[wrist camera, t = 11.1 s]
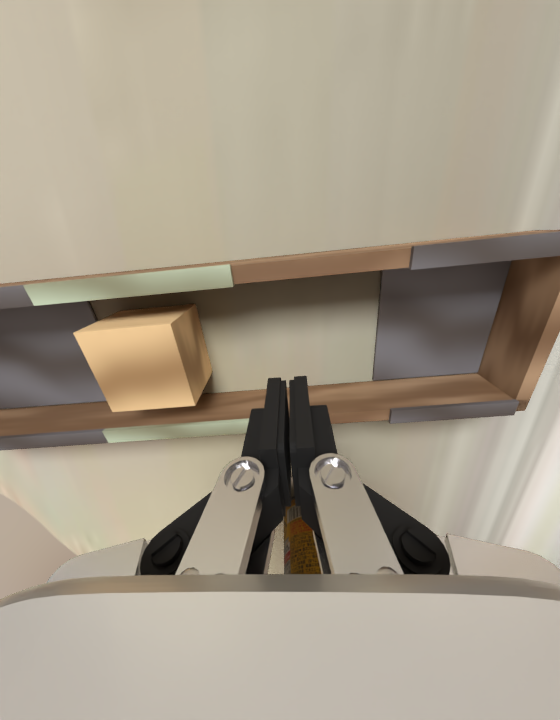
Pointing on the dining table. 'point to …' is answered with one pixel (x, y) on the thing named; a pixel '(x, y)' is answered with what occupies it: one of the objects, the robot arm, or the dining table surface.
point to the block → (148, 357)
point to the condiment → (298, 542)
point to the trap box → (344, 401)
